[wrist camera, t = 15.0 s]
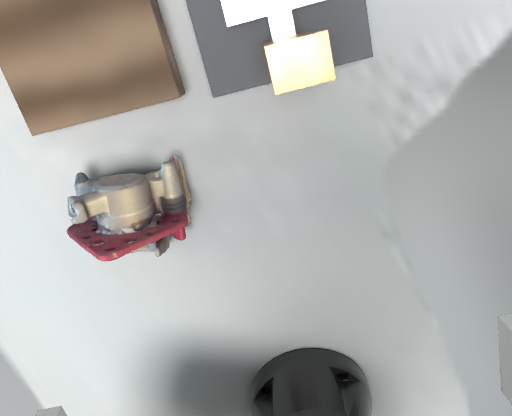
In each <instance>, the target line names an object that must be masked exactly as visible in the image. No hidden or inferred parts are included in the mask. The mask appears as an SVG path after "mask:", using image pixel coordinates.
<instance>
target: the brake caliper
mask: <svg viewBox="0 0 512 416" xmlns="http://www.w3.org/2000/svg"><path fill="white" fill-rule="evenodd" d="M170 160H171V162H169V161H167V162H164V163H162V165H161V169H160V170H157V171H152V172H149V173H148V174H146V175H142V174H138V173H127V174H117V175H112V176H108V177H107V176H103V177H100V178H98V179H97V180H91V179H89V178H88V177H87V176H86V175H85V174H84V173H78V174H77V175H76V181H75V190H76V194H77V196H71V197H68V209H69V216H70V217H73V218H72V220H71V221H72V223H74V224H73V225H72V226H70V227H69V228H68V229H67V234H68V235H69V237H70V238H72V239H73V240H74V241H76V242H77V243H78V244H79V245H80V246H81V247H83V248H84V249H85V250H86V251H88V252H90V253H91V254H92V255H93V256H95V257H96V258H97V259H98V260H100V261H111V260H115V259H118V258H120V257H122V256H124V255H125V254H128V253H133V252H137V251H153V252H155V254H156V256H161V255H162V254H163V253H164V252H165V251H166V250H167V249H168V248H169V240H170V234H172V235H173V236H174V238H176V239H178V240H184V239H185V238H186V234H185V228H184V227H186V226H187V225H188V224H189V222H190V219H191V218H190V216H189V214H188V208H189V206H190V204H191V197H190V192H189V189H188V187H187V185H186V180H185V172H184V169H183V166H182V163H181V162H180V160H179V159H178V157H177V156H176V155H173V156H172V157H171V159H170ZM101 243H103V244H101Z"/></svg>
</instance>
